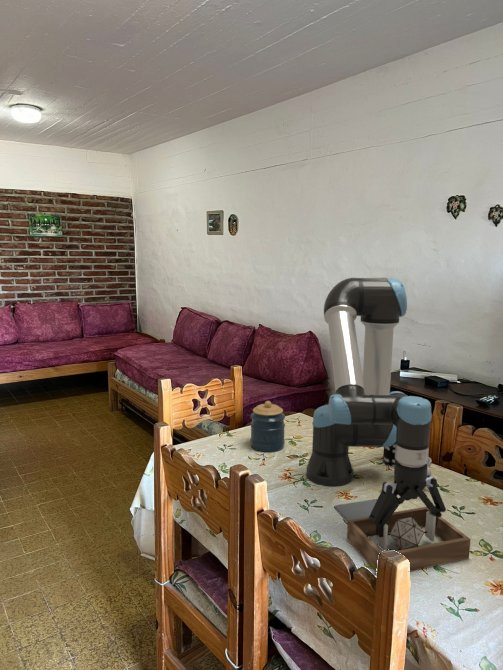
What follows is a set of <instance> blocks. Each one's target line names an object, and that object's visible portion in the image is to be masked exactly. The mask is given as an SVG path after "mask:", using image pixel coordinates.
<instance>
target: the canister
mask: <svg viewBox="0 0 503 670" xmlns="http://www.w3.org/2000/svg"><path fill="white" fill-rule="evenodd" d="M285 418H286V415H285V414H284V409H283V408H282V407H280V406H279V405H277V404H273V403H272V402H271V401H270V400H266V401H265V402H264V403H261V404H259V405H256V407H254V408H253V409H252V413H251V414H250V419H251V423H250V447H251V448H252V449H254V450H255V451H259V452H264V453H272V452H273V453H274V452H277V451H280V450H282V449H284V447H285V443H286V441H285V440H286V439H285V427H286V423H285V422H284V420H285Z"/></svg>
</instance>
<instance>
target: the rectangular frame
mask: <svg viewBox="0 0 503 670" xmlns="http://www.w3.org/2000/svg"><path fill="white" fill-rule="evenodd" d="M426 512H431V511H430V510H429V509H428V508H427V507H426V506H422V507H416V508H411V509H410V508H409V509H404V510H400V511H399V510H398V511H394V513H393V514H392V515H391V517H390V518H389V520H388V521H387V522H386V524H387V525H388V533H389V534H390V532H391V530H392V528H393V526H394V524H395V517H396V518H397V519H403V518H408V517H411V515H412V514H413V517H412V518H413V519H414V520H415V521H416V523H417V524H418V525H419V526H420V527H421V528H423V527H424V528H425V527H426ZM346 527H347V529H346V539H347V541H349V543H350V544H351V546H353V548H355V550H356V551H357V552H358V553H359V554H360V555H361V557H363V559H365V560H366V562H367V563H368V564H369V566H371V568H373V570H375V572H376V568H377V560H378V555H379V553H381V552H383V551H382V549H381V548H380V547H379V546H378V545H376V543H374V542H373V540H371V539H370V538H371V537H375V536H376V537H377V536H378V535H377V534H376V524H374V523H373V522H372V521H371V520H370V519H369V517H364V518H358V519H353V520H348V522H347V525H346ZM435 536H437V537H438V538H439V539H440V540H442V541H439V542H436V543H430V544H425V545H419V547H414V548H410V549H405V550H401V549H400V550H397V552H399V553H401V554H402V555H404V556H405V557H406V558H407V559H408V560H409V562H410V570H411V571H410V572H412V571H417V570H423V569H425V568H431V567H434V566H440V565H444V564H448V563H454V562H457V561H458V562H460V561H462V560H467V559H469V558H470V551H471V550H470V549H471V538H470V537H469V536H468V535H466V534H464V533H463V532H462V531H461V530H459V528H457V527H456V526H454V524H453V525H452V523H450V522H449V521H448V520H447V519H445V518H444V517H442V516H441V517H438V524H437V527H435Z"/></svg>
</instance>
